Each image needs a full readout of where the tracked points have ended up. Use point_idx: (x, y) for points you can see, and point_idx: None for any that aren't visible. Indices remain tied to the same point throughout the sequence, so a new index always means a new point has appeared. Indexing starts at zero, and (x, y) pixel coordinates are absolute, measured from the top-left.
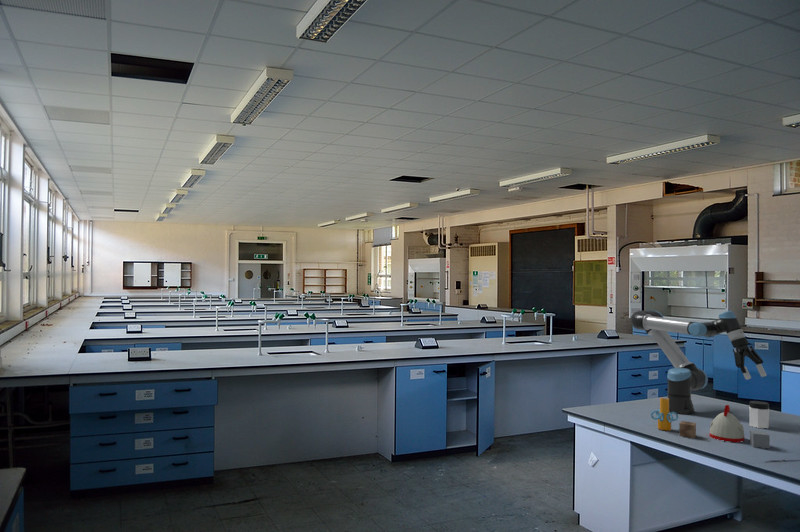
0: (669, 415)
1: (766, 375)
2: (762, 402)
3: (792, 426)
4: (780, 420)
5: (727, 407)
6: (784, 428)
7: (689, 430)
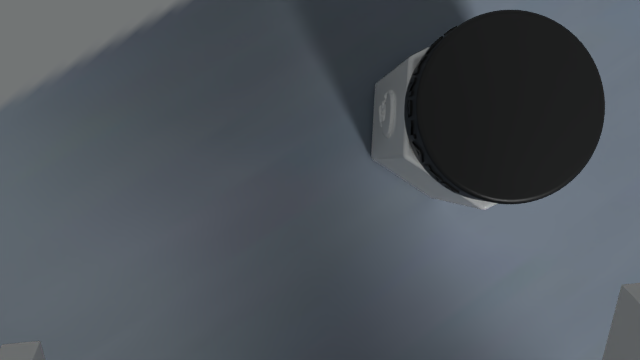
0: None
1: (19, 346)
2: (472, 93)
3: (154, 25)
4: (31, 201)
5: None
6: (293, 9)
7: None
